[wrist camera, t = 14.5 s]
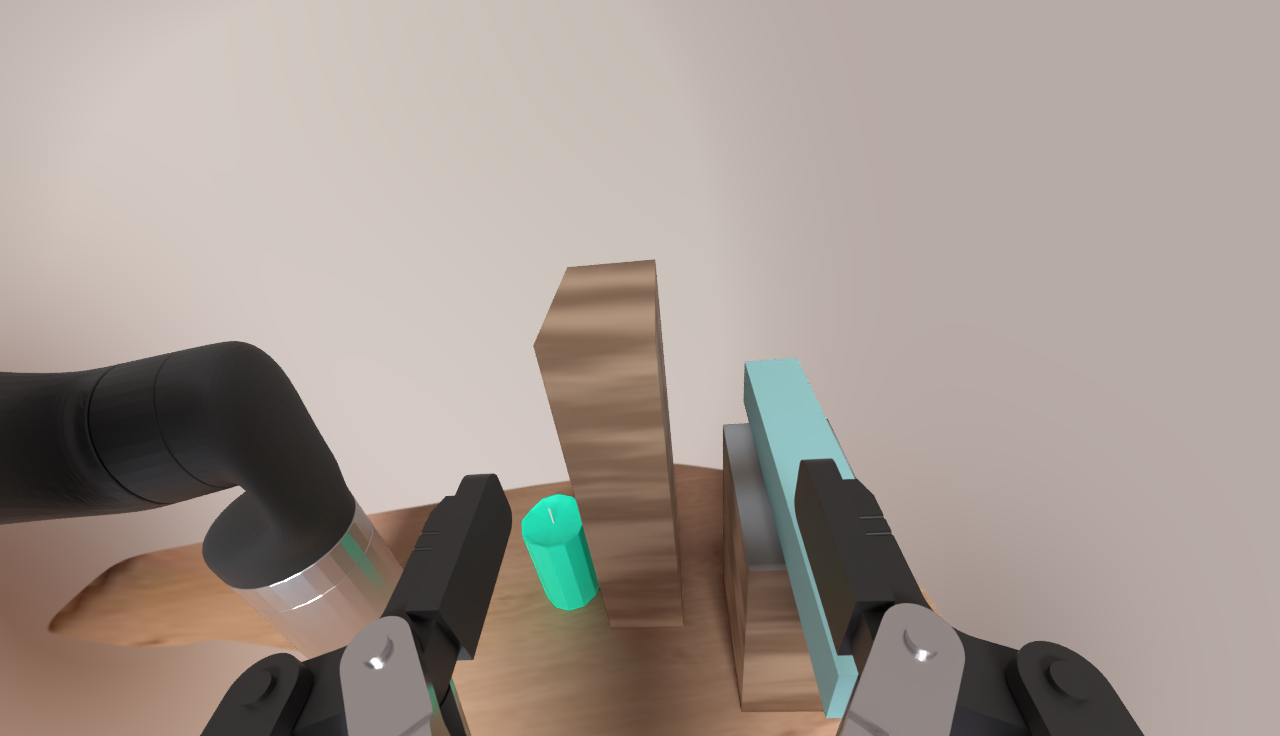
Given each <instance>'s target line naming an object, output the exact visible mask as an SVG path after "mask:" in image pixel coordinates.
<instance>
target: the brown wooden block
mask: <svg viewBox="0 0 1280 736" xmlns="http://www.w3.org/2000/svg"><path fill="white" fill-rule="evenodd" d="M826 420H827V422H828V424H829V426H830V428H831V430H832V432H833V434H834V436H835V439H836V441H837V443H838V445H839V447H840V449H841V451H842V453H843V455H844V457H845V459H846V462H847V464H848V466H849V468H850V470H851V472H852V474H853V476H854V478H855V479H856V477H855V475H854V473H853V471H852V469H851V467H850V464H849V462H848V460H847V458H846V456H845V454H844V452H843V450H842V448H841V446H840V444H839V441H838V439H837V437H836V435H835V433H834V431H833V429H832V427H831V425H830V423H829V421H828V419H826ZM723 575H724V583H725V590H726V598H727V605H728V613H729V621H730V628H731V636H732V643H733V651H734V659H735V666H736V674H737V681H738V689H739V697H740V704H741V712H793V711H824V709H823V705H822V701H821V698H820V694H819V690H818V686H817V682H816V678H815V675H814V671H813V667H812V663H811V659H810V655H809V651H808V648H807V644H806V640H805V636H804V632H803V628H802V624H801V621H800V617H799V613H798V609H797V605H796V601H795V597H794V594H793V590H792V586H791V582H790V578H789V574H788V570H787V567H786V563H785V559H784V555H783V551H782V547H781V543H780V540H779V536H778V532H777V528H776V524H775V520H774V517H773V513H772V509H771V505H770V501H769V497H768V493H767V490H766V486H765V482H764V478H763V474H762V470H761V466H760V463H759V459H758V455H757V451H756V447H755V443H754V439H753V436H752V432H751V428H750V424H749V423H747V424H746V423H745V424H730V425H729V424H728V425H723Z"/></svg>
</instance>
